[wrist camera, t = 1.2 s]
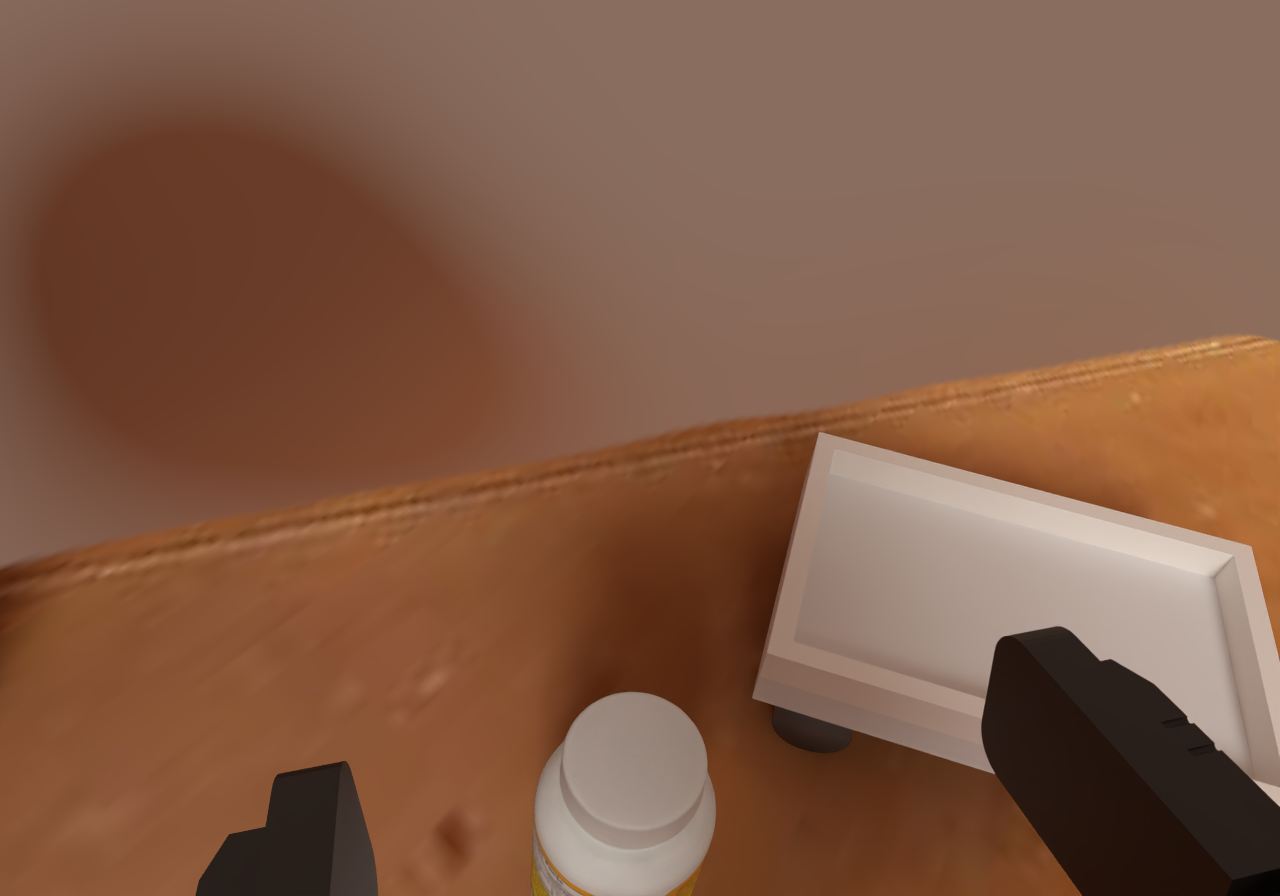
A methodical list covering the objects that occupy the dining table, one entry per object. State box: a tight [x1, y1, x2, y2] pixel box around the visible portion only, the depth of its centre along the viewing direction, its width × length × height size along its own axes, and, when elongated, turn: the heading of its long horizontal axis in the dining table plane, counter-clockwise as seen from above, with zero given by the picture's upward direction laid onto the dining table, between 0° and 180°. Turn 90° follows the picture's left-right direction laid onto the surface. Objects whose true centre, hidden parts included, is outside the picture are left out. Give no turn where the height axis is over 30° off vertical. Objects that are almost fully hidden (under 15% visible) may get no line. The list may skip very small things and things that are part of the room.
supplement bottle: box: [531, 692, 716, 896], centre depth 28 cm, size 5×5×10 cm
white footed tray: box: [752, 432, 1280, 806], centre depth 37 cm, size 18×12×6 cm, turn 73°
